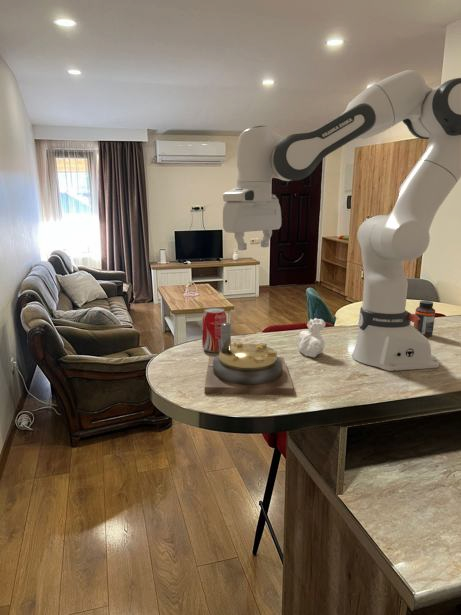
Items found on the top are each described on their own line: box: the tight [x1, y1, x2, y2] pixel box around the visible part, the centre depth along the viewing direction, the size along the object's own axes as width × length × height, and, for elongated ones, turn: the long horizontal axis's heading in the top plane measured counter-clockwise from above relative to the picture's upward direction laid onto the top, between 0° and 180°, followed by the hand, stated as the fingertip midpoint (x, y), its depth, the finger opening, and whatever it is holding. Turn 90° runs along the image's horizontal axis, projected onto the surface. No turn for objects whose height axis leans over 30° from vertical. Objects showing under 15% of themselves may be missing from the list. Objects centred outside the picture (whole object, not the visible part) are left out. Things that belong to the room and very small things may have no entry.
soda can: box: [201, 307, 228, 353], centre depth 126 cm, size 7×7×12 cm
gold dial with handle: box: [218, 322, 278, 371], centre depth 106 cm, size 14×14×9 cm
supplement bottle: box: [413, 300, 436, 338], centre depth 143 cm, size 6×6×11 cm
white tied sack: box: [296, 317, 326, 359], centre depth 125 cm, size 12×8×11 cm
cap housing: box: [204, 354, 295, 395], centre depth 108 cm, size 20×20×4 cm
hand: (253, 248), depth 115 cm, fingers open, 8 cm apart
